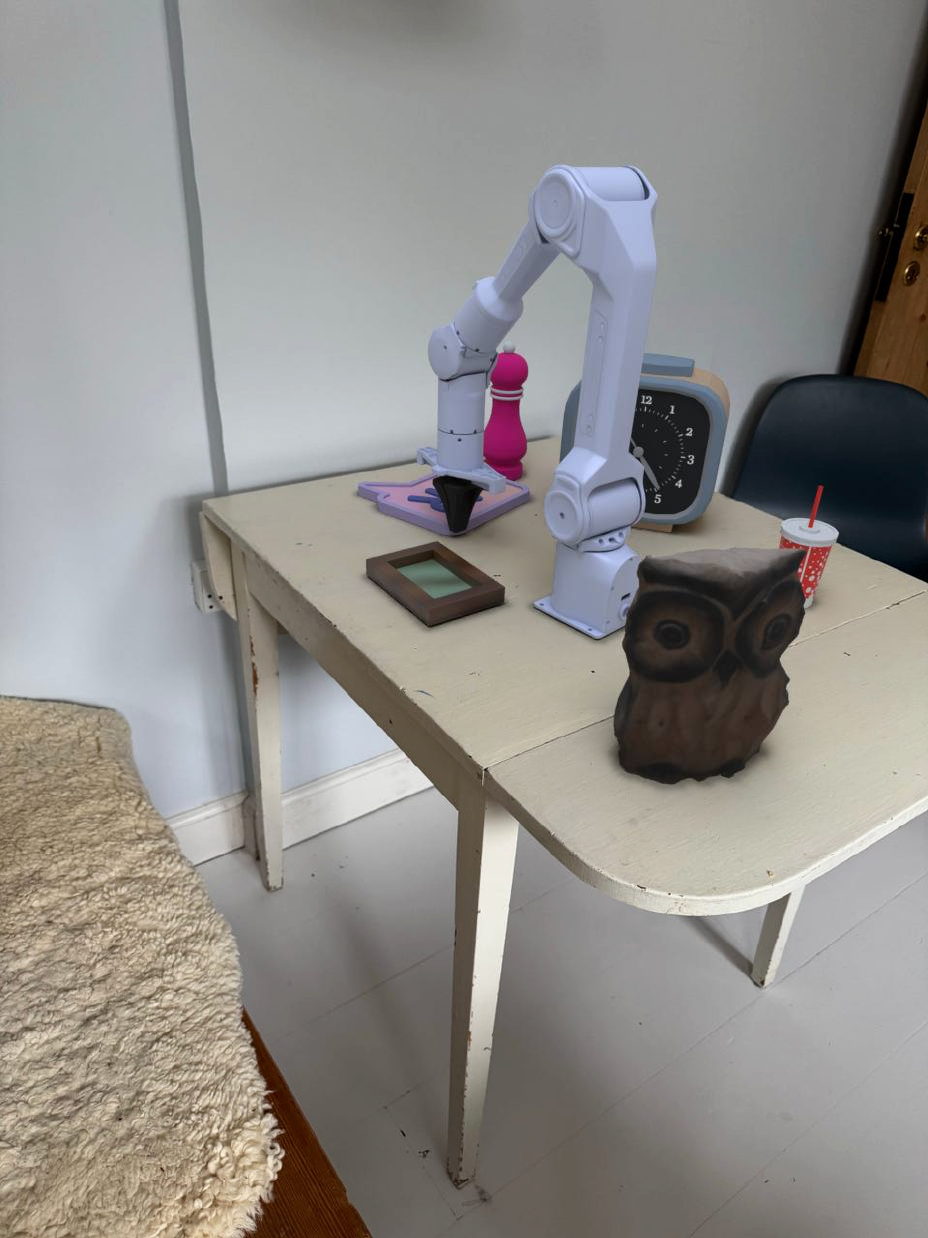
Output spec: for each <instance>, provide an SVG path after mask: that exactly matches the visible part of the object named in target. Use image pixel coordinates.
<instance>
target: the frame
mask: <svg viewBox="0 0 928 1238" xmlns="http://www.w3.org/2000/svg"><path fill="white" fill-rule="evenodd" d="M365 575H366V576H368V577H369V578H371V580H373V581H374V582H375V583H377V585H379V586H380V587H381V588H382V589H384V590H385V591H386V592H387V593H389V595H391V596H392V597H393V598H395V599H396V600H397V601H398V602H399V603H400V604H401V605H403V606H404V607H405V608H406V609H408V610H409V611H411V613H413V614H414V615H415V616H416V617H418V618H419V619H420V620H421V621H423V622H424V623H425V624H426V625H427V626H429V627H430V626H434V625H437V624H440V623H444V622H447V621H450V620H453V619H456V618H459V617H462V616H465V615H469V614H472V613H475V612H477V611H482V610H485V609H489V608H491V607H495V606H497V605H501V604H505V597H506V587H505V585H504V584H501V582H499V581H497V580H495V579H494V578H493V577H491V576H490V575H488V574H487V573H485V572H484V571H483V570H481V569H480V568H478V567H476V566H475V565H473V564H472V563H471V562H469V561H468V560H466V559H465V558H463V557H462V556H460V555H459V554H458V553H456V552H454V550H451V549H450V548H449V547H447V546H446V545H445V544H442V543H441V542H439V541H438V540H436V541H431V542H428V543H424V544H420V545H416V546H412V547H408V548H404V549H400V550H397V551H392V552H388V553H384V554H381V555H376V556H372V557H368V558H365Z"/></svg>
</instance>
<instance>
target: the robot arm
mask: <svg viewBox="0 0 928 1238" xmlns="http://www.w3.org/2000/svg"><path fill="white" fill-rule="evenodd" d="M658 200H659V195H658V193H657V192H656V191H655V189H654V187H653V185H652V184H651V183H650V182H649V180H648V178H647V177H646V176H645V173H644V172H643V171H642V170H640V169H639V168H638V167H636V166H634V165H629V164H627V165H625V164H624V165H619V166H570V165H568V164H556V165H554V166H551V167H549V168H548V169H547V170H546V171H544V173H543V174H542V176H541V178H540V179H539V181H538V184H537V187H536V188H535V189H534V190H533V191H532V193H530V195H529V197H528V203H527V208H528V209H527V211H528V213H527V214H528V219H527V221H525V224H524V226H523V227H522V229H521V231H520V233H519V234H518V236H517V237H516V239H515V242H514V243H513V244H512V246H511V249H510V251H508V254H507V256H506V258H505V259H504V261H503V262H502V265H501V267H500V268H499V270H498V272H497V274H496V275H495V276H487V277H484V278H482V279H479V280H478V279H477V280H476V281H475V283H474V284H473V285H472V290H473V291H472V292H471V293H470V295H469V297H468V298H467V300H466V301H465V303H464V304H463V306H462V307H461V308H460V310H459V311H458V312H457V314H456V315H455V316H454V319H453V321H452V322H448V323H447V324H446V325H442V326H436V327H435V328H434V329H433V330H432V332H431V335H430V337H429V340H428V346H427V356H428V363H429V365H430V367H431V369H432V371H433V373H434V374H435V375H436V376H437V424H436V425H437V428H436V429H437V431H436V432H437V434H436V436H437V440H436V442H437V443H436V447H431V446H429V445H427V446H424V447H419V448H416V464H418V465H421V466H424V465H427V466H429V467H431V473H434V474H436V475H439V476H440V477H436V478H434V479H433V486H434V487H435V489H436V491H437V493H438V495H439V497H440V499H441V501H442V504H443V507H444V510H445V514H446V518H447V522H448V526H449V530H450V531H451V532H453V533H458V532H461V531H464V530H466V529H467V526H468V522H469V519H470V516H471V513H472V510H473V507H474V505H475V503H476V501H477V499H478V497H479V495H480V494H481V492H482V491H483V489H487V490H489V494H492V495H497V494H500V493H503V492H505V490H506V477H505V476H503V475H501V474H499V473H498V472H496V471H495V470H494V469H492V468H491V467H490V466H489V465H488V464H486V463H485V462H484V456H483V444H484V430H485V420H486V419H485V417H486V416H485V415H486V395H487V393H486V391H487V390H488V389H489V388H490V386H491V381H490V378H491V373H492V371H493V370H494V368H495V366H496V364H497V360H498V354H499V352H498V351H497V348H498V347H499V346H500V344H501V343H502V342H503V341H504V339H505V338H506V337H507V335H508V334H509V332H511V330H512V329H513V328H514V326H515V325H516V323H517V322H518V321H519V319H520V318H521V317H522V316H523V313H524V302H523V297H524V296H525V294H526V293H527V292H528V291H529V290H530V289H531V287H533V285H534V284H535V283H536V282H537V280H538V279H540V277H541V276H542V275H543V274H544V273H545V272H546V270H547V269H548V268H549V267H550V266H551V265H552V263H553V262H554V261H555V260H556V259H557V257H559V255H561V254H562V255H563V256H564V257H566V258H567V259H568V260H569V261H570V262H571V263H573V264H574V265H575V266H576V267H577V268H579V269H581V270H582V271H583V272H584V273H585V275H586V276H587V278H588V279H589V281H590V282H591V285H592V292H591V301H590V308H589V316H588V324H587V333H586V335H587V336H586V343H585V348H584V349H585V350H584V358H583V365H582V375H581V379H582V382H581V390H580V399H579V407H578V415H577V424H576V432H575V440H574V447H573V449H572V450H571V451H570V452H569V454H568V455H567V456H566V457H565V458H564V459H563V460H562V462H561V463H560V464H559V463H558V465H557V466H556V468H555V469H554V471H553V477H552V483H551V486H550V488H549V489H548V491H547V493H546V495H545V498H544V502H543V518H544V522H545V524H546V527H547V529H548V531H549V532H550V534H551V536H552V539H554V540H556V543H555V544H556V545H555V556H554V563H553V564H554V565H553V574H552V575H553V576H552V585H551V586H552V587H551V594H549V595H547V596H545V597H541V598H540V599H537V600H536V601H534V602H533V607H535V608H536V609H538V610H540V611H542V612H544V613H546V614H548V615H549V616H551V617H554V618H555V619H557V620H559V621H561V622H563V623H564V624H567V625H569V626H570V627H572V628H574V629H577V631H580V632H581V633H583V634H586V635H587V636H590V637H591V638H593V639H596V640H600V639H603V638H604V637H606V636H607V635H609V634H612V633H614V632H615V631H617V630H619V629H621V628H624V627H625V624H626V614H627V612H628V609H629V607H630V605H631V603H632V601H633V598H634V596H635V594H636V591H637V589H638V587H639V579H638V577H637V569H638V565H639V563H640V562H641V561H643V559H644V557H642V556H641V555H639V554H638V553H636V552H635V551H634V550H632V548H631V547H630V546H629V544H627V542H626V538H627V537H630V536H631V535H630V534H631V528H632V525H634V524H636V523H637V522H638V521H639V520H640V519H641V517H642V515H643V513H644V510H645V493H644V489H643V473H644V466H643V465H642V464H641V463H640V462H639V461H638V460H637V459H636V458H635V457H634V456H633V455H632V454H630V453H629V452H628V451H629V445H630V438H631V432H632V426H633V419H634V413H635V406H636V400H637V394H638V387H639V381H640V375H641V368H642V362H643V355H644V353H645V349H646V341H647V336H648V329H649V323H650V317H651V310H652V304H653V297H654V290H655V284H656V279H657V271H658V269H657V268H658V259H657V251H656V243H655V237H654V226H655V219H656V214H657V206H658Z"/></svg>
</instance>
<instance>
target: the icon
mask: <svg viewBox="0 0 928 1238" xmlns="http://www.w3.org/2000/svg"><path fill="white" fill-rule="evenodd" d="M436 477H440V476H439V475H436V474H434V473H432V472H431V473H429V474H427V475H424V476H422V477H419V478H416V479H414V480H412V481H409V482H400V481H399V482H394V481H393V482H392V481H361V482H359V483H358V484H357V491H358V496H359V497H362V498H363V499H364V498H365V499H367V500H370V501H372V502H375V503H376V508H377V510H378V511H379V512H380V513H383V514H385V515H388V516H390V517H394V518H396V519H398V520H399V519H400V520H401V521H404V522H408V523H409V524H412V525H415V526H418V527H421V528H424V529H426V530H429V531H432V532H435V533H437V534H440V535H444V536H459V535H462V534H465V533H467V532H469V531H471V530H473V529H475V528H477V527H479V526H481V525H483V524H485V523H488V522H489V521H491V520H493V519H495V518H497V517H499V516H502V515H503V514H506V513H507V512H509V511H511V510H513V509H515V508H517V507H520V506H521V505H524V504H525V503H527V502H528V501H529V500H530V487H529V486H528V485H526V484H523V483H521V482H517V481H515V480H508V479H506V490H505V492H503V493H500V494H497V495H492V494H489V490H487V489H483V491H482V492H481V494H480V495H479V497H478V499H477V501H476V503H475V505H474V507H473V510H472V513H471V516H470V519H469V522H468V526H467V529H466V530H464V531H461V532H458V533H453V532H451V531H450V530H449V526H448V522H447V518H446V514H445V510H444V507H443V504H442V501H441V499H440V497H439V495H438V493H437V491H436V489H435V487H434V486H433V479H434V478H436Z"/></svg>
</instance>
